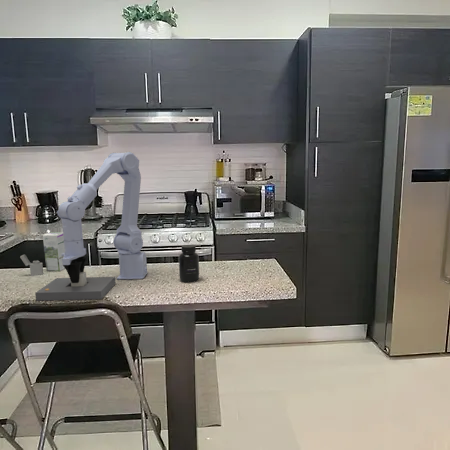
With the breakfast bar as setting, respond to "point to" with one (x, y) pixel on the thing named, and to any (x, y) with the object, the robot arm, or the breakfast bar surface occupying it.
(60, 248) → the syrup box
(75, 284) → the plug
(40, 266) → the lighter
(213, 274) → the breakfast bar surface
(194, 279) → the supplement bottle
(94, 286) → the socket block
